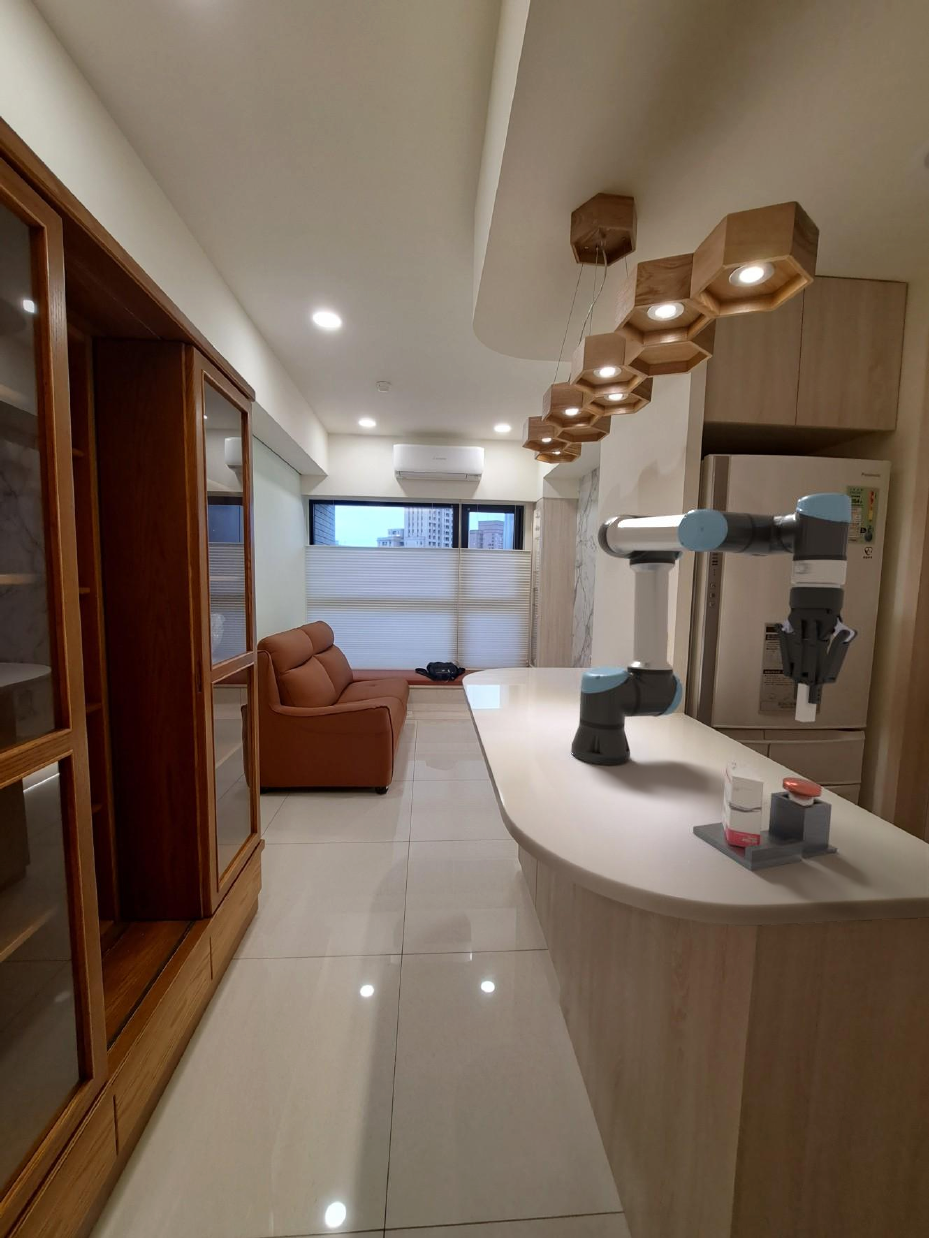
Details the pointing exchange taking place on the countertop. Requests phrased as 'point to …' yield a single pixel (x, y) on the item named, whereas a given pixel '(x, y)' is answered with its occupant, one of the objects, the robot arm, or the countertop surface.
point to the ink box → (742, 805)
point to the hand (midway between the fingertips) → (805, 720)
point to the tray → (752, 848)
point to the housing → (801, 823)
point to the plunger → (801, 790)
